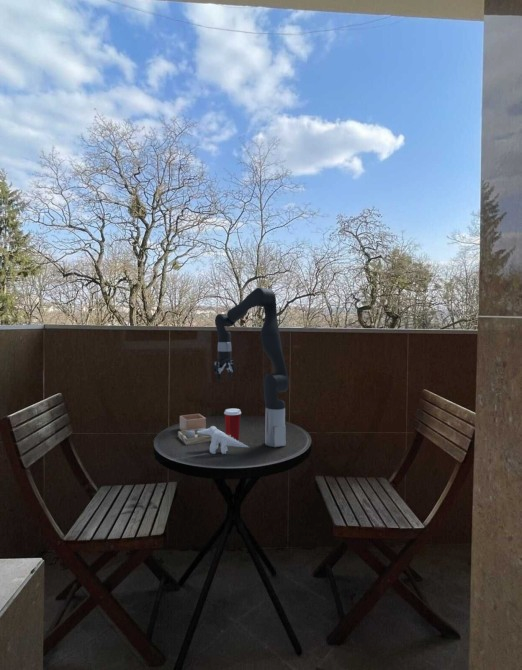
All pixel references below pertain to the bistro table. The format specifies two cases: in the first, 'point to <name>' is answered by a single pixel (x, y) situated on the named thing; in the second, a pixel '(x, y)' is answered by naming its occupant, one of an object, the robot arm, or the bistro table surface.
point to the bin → (192, 422)
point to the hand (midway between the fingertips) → (224, 379)
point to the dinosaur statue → (220, 440)
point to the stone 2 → (200, 433)
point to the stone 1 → (190, 434)
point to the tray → (193, 440)
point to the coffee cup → (232, 422)
